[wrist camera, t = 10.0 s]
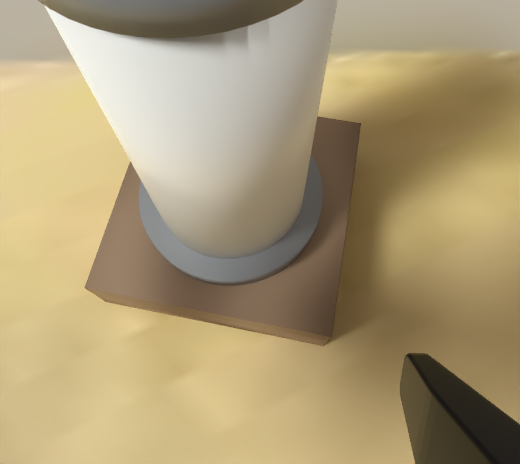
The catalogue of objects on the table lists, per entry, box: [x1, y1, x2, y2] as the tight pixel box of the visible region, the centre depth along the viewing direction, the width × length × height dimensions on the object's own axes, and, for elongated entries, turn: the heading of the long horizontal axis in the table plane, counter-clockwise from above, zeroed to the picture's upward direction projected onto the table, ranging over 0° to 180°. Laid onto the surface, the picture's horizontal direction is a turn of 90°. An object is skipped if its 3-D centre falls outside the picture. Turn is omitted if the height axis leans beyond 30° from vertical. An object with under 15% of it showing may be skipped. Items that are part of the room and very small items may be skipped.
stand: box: [85, 117, 361, 346], centre depth 20 cm, size 10×10×2 cm
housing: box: [38, 0, 337, 286], centre depth 13 cm, size 8×8×13 cm
